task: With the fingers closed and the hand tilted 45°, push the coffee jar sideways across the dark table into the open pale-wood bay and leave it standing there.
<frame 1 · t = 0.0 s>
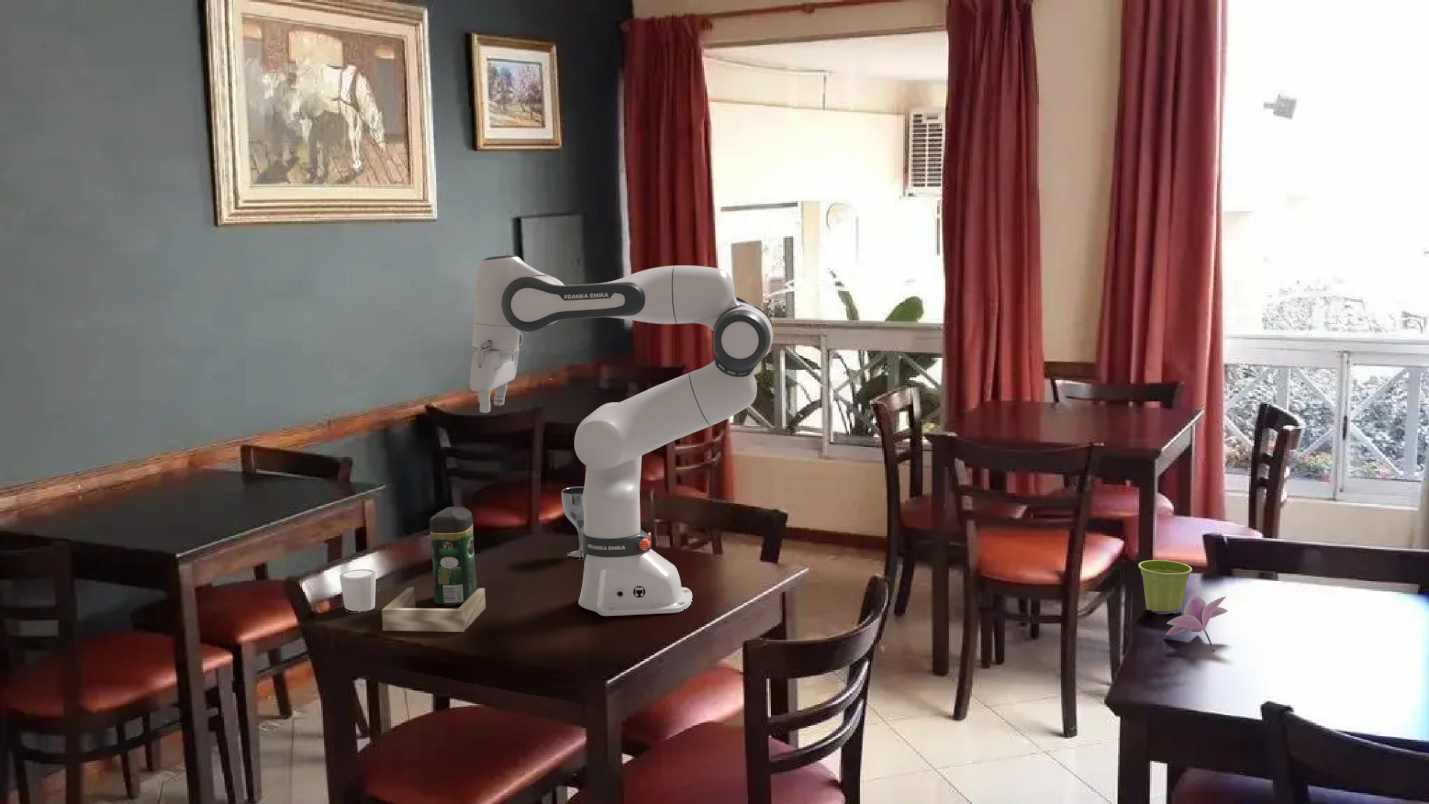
hand: (492, 408, 239), 39 cm above the table, tool pointing down, fingers open, 8 cm apart
bay: (436, 617, 234), on the table
white cup: (360, 608, 242), on the table
coffee jar: (455, 600, 246), on the table
wine glass: (581, 555, 277), on the table
plant pot: (1163, 612, 230), on the table
lily: (1196, 645, 212), on the table
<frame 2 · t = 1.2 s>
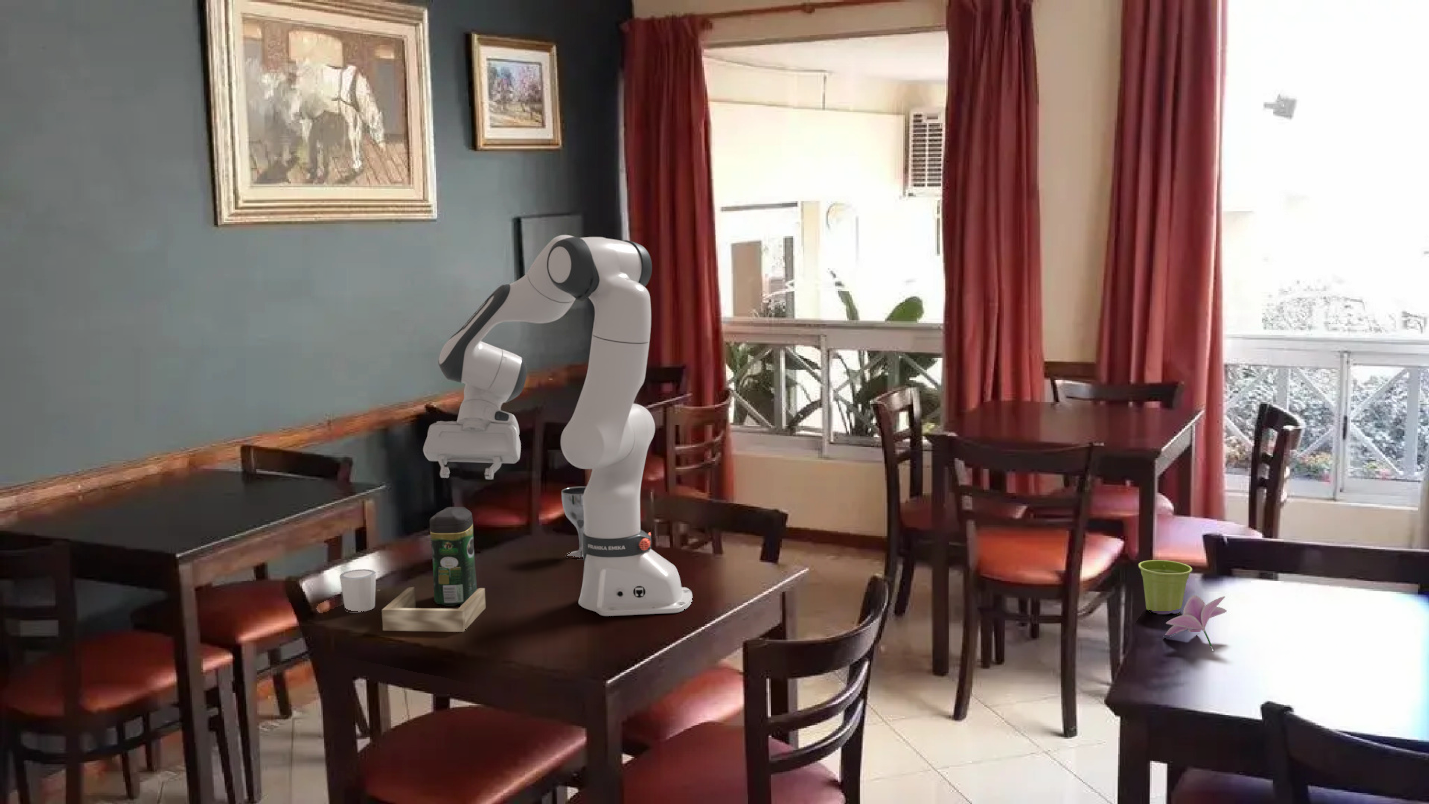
hand: (466, 477, 254), 23 cm above the table, tool tilted 45°, fingers open, 8 cm apart
nothing on the table moved.
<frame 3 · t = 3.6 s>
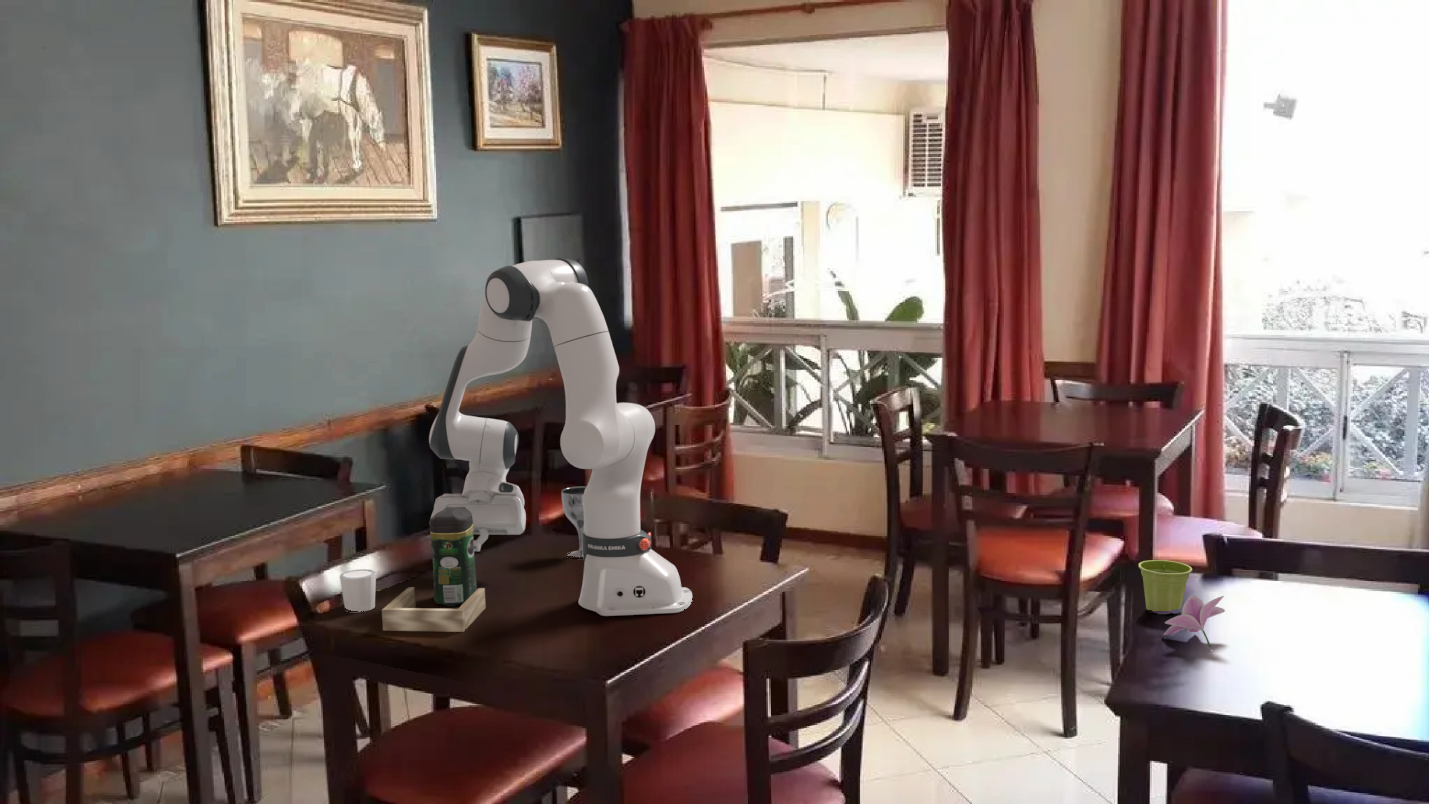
hand: (472, 549, 257), 7 cm above the table, tool tilted 45°, fingers closed
nothing on the table moved.
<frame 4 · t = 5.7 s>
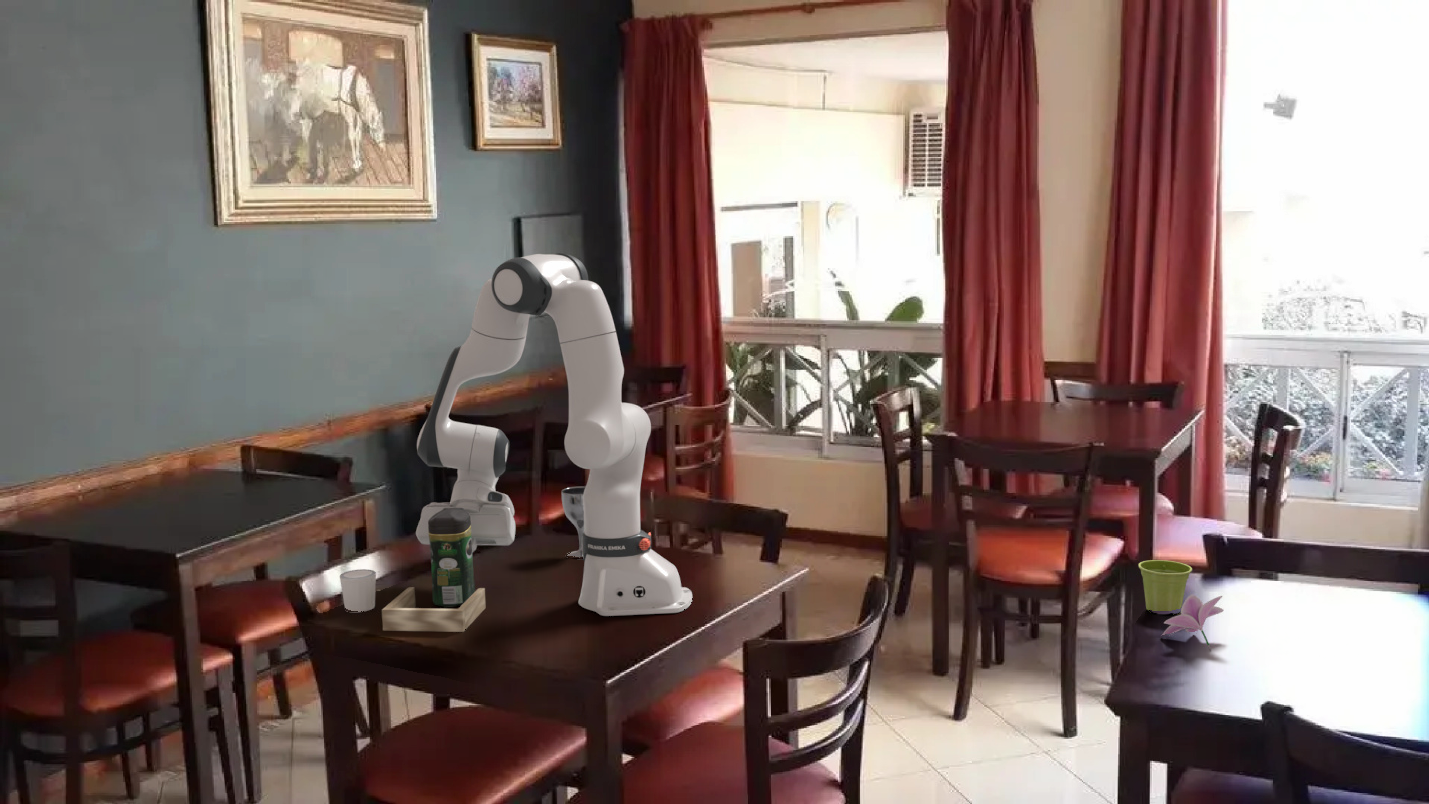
hand: (459, 561, 249), 7 cm above the table, tool tilted 45°, fingers closed
coffee jar: (453, 601, 245), on the table, touching gripper
everything else where it was.
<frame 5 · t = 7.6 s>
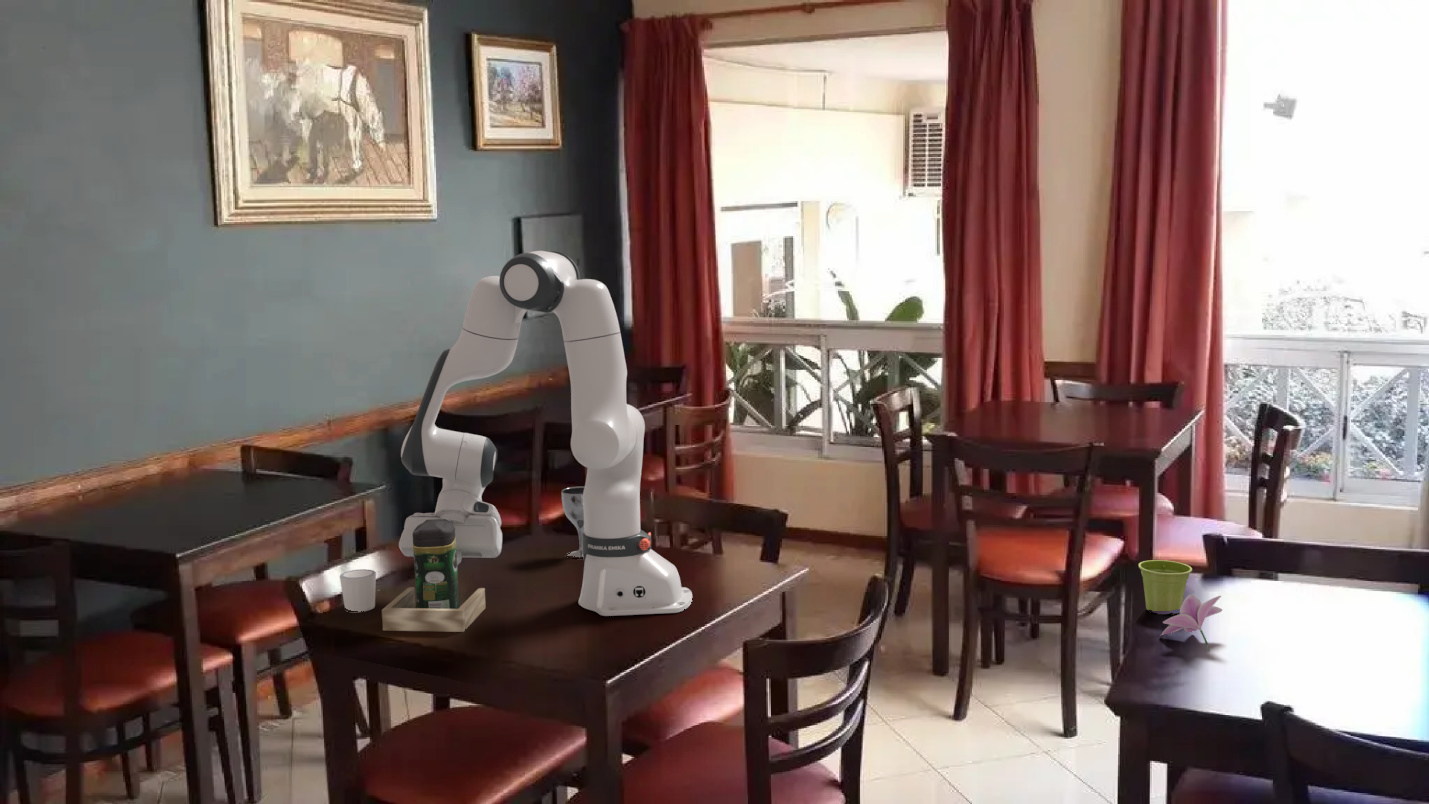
hand: (443, 574, 239), 7 cm above the table, tool tilted 45°, fingers closed, pressing on coffee jar
coffee jar: (438, 616, 236), on the table, touching gripper
everything else where it was.
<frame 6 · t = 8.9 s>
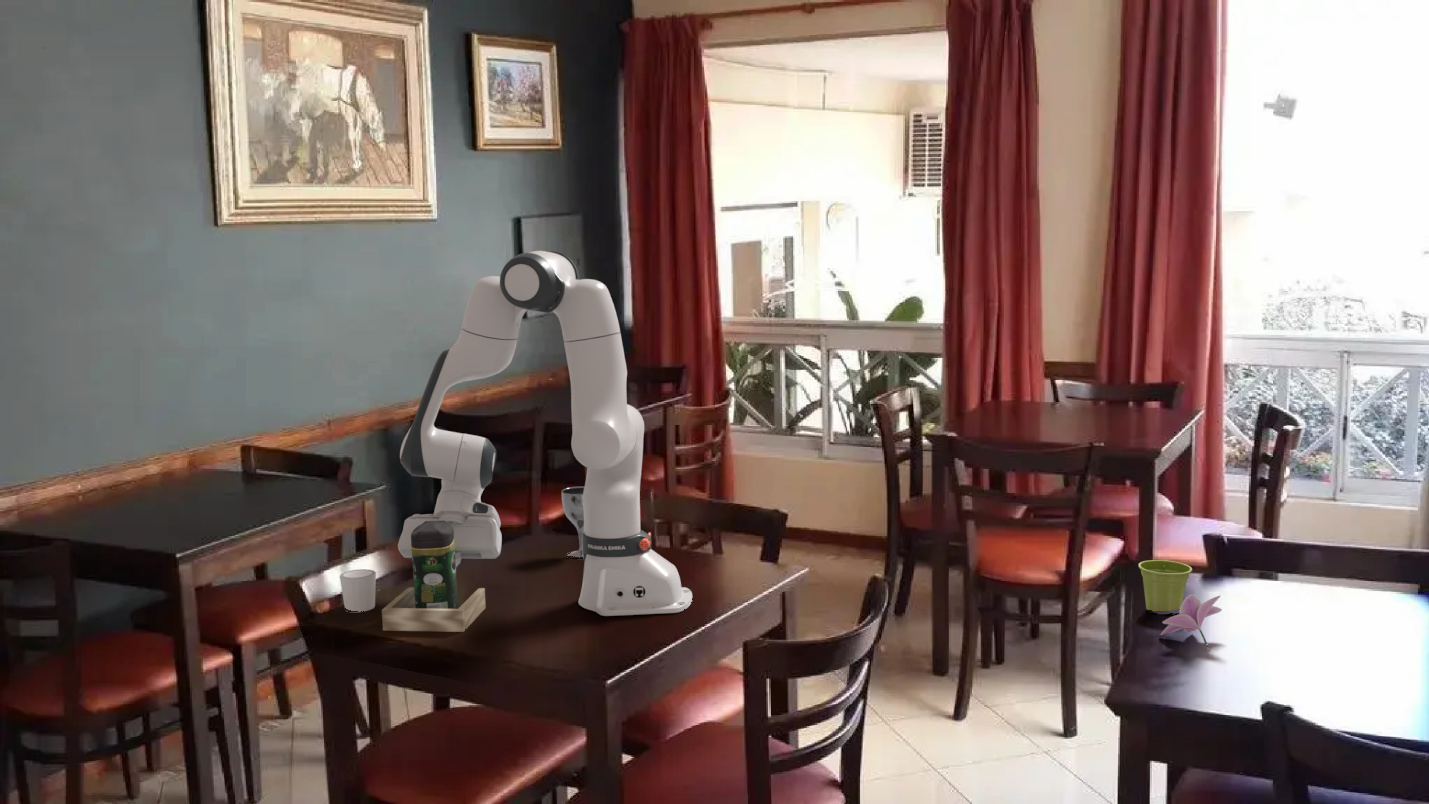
hand: (443, 575, 238), 7 cm above the table, tool tilted 45°, fingers closed
coffee jar: (437, 618, 235), on the table
everything else where it was.
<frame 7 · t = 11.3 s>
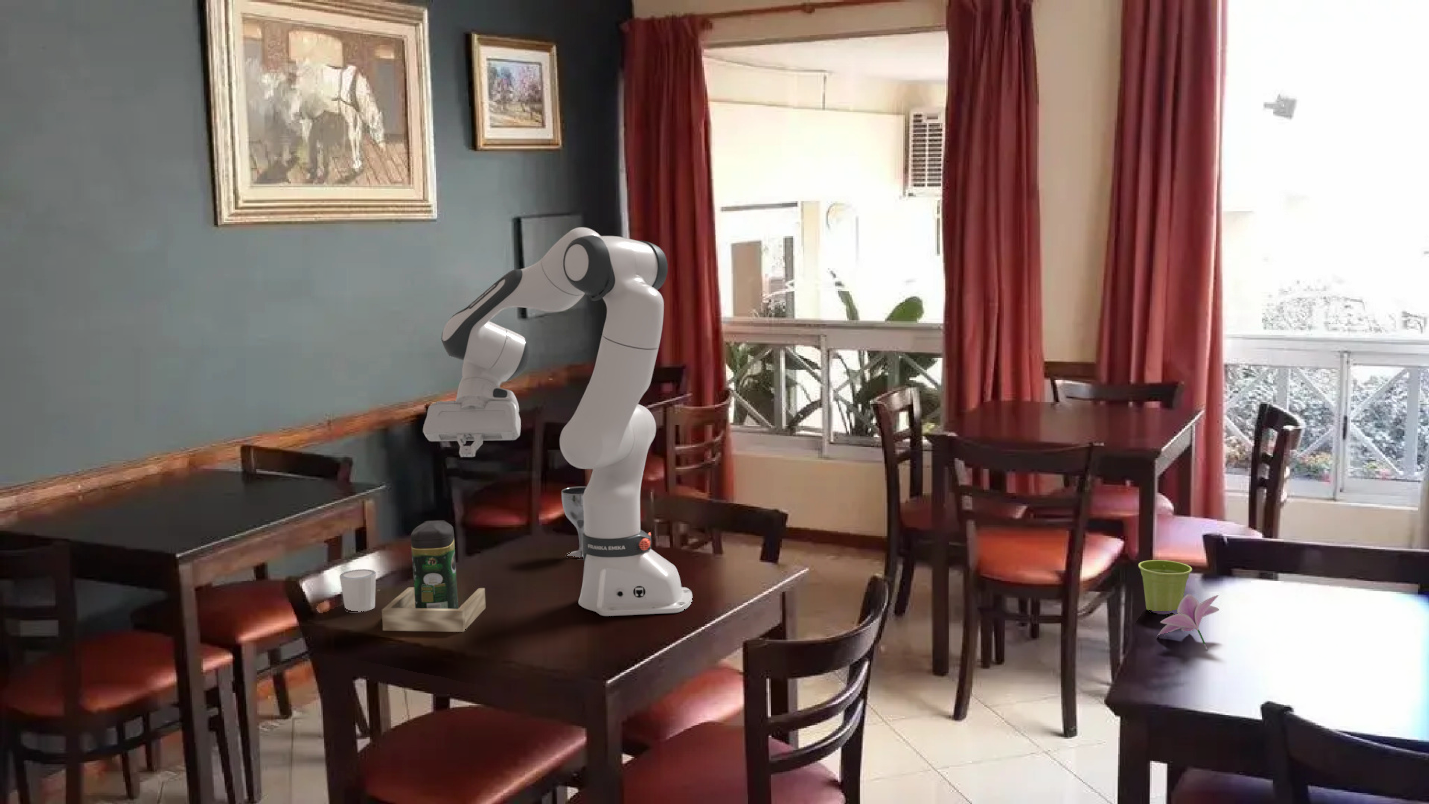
hand: (466, 455, 253), 27 cm above the table, tool tilted 45°, fingers closed
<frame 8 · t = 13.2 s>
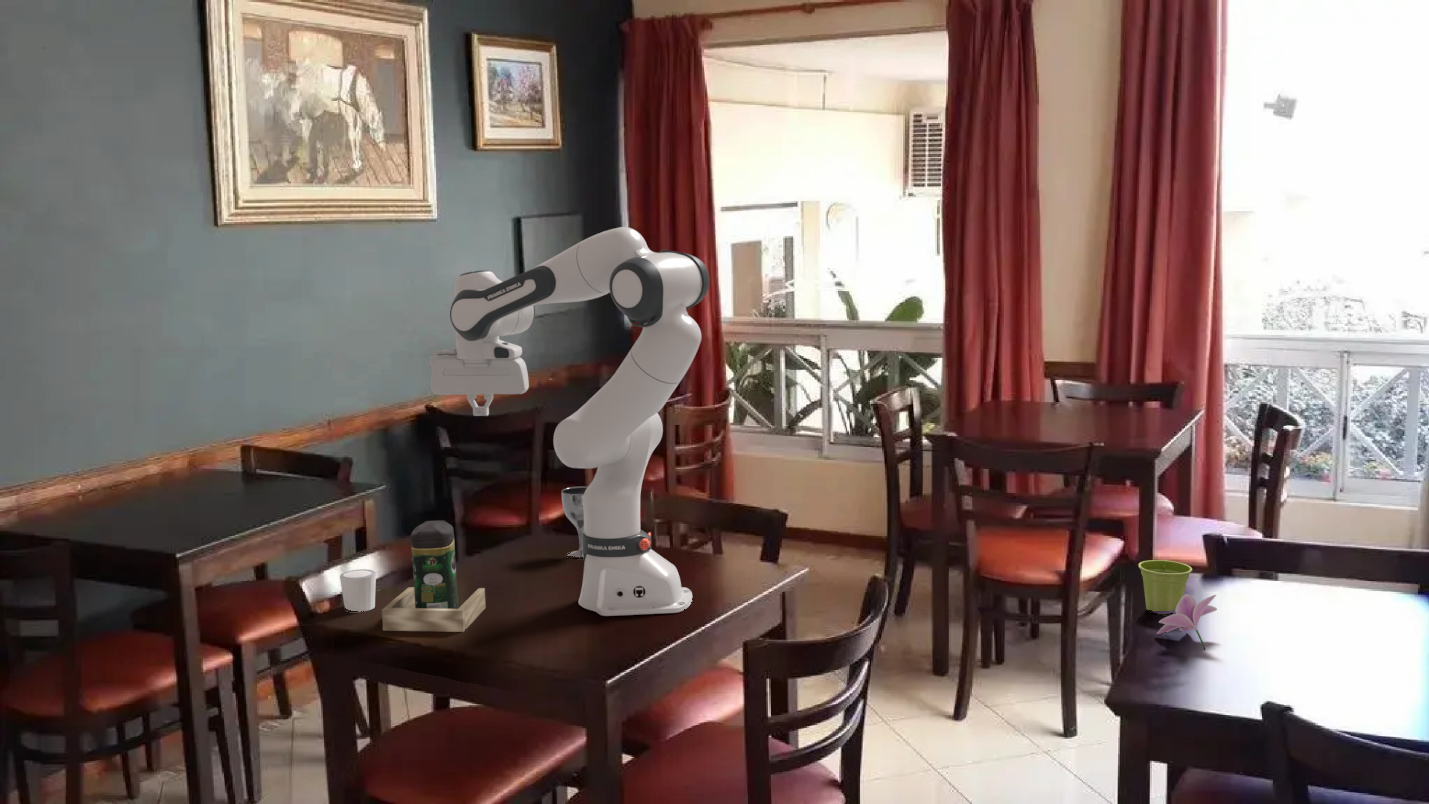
hand: (481, 415, 255), 35 cm above the table, tool pointing down, fingers closed
at the end: coffee jar inside the target area on the bay (0.6 cm from its centre), point 0.0 cm above the bay's base; coffee jar tilted 0° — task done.
